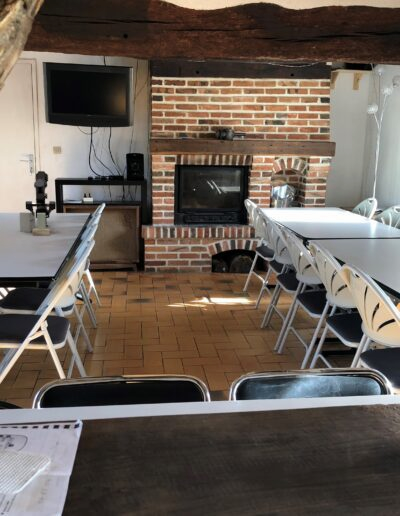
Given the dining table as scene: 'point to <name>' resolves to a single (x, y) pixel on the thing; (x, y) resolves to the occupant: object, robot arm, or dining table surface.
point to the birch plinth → (41, 232)
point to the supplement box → (27, 221)
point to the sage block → (41, 221)
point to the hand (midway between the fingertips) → (41, 215)
